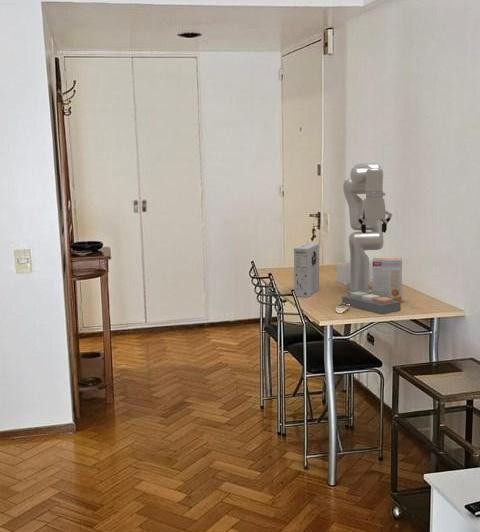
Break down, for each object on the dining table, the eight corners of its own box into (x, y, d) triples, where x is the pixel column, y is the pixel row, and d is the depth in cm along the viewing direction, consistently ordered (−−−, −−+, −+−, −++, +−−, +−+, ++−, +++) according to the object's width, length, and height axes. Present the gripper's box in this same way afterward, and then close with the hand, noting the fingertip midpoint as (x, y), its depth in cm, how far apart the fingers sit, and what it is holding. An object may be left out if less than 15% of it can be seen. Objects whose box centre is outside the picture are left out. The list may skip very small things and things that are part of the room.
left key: (349, 298, 332) (349, 293, 332) (358, 296, 336) (358, 291, 335) (358, 300, 327) (358, 295, 327) (367, 298, 331) (367, 293, 330)
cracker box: (401, 300, 340) (402, 257, 336) (401, 302, 334) (402, 259, 330) (372, 299, 343) (372, 257, 339) (371, 301, 337) (372, 259, 334)
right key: (373, 303, 319) (373, 298, 319) (383, 302, 323) (383, 296, 322) (383, 306, 314) (383, 300, 314) (392, 304, 318) (392, 298, 317)
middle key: (361, 300, 326) (361, 295, 325) (370, 299, 329) (370, 294, 329) (370, 303, 321) (370, 297, 320) (379, 301, 324) (380, 296, 324)
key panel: (342, 304, 333) (342, 296, 332) (360, 301, 339) (360, 293, 339) (381, 314, 311) (381, 305, 311) (400, 310, 318) (400, 301, 318)
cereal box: (305, 288, 373) (305, 242, 369) (319, 289, 370) (319, 242, 366) (294, 296, 353) (293, 247, 349) (308, 297, 350) (308, 248, 346)
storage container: (375, 279, 397) (375, 260, 395) (386, 282, 387) (386, 262, 385) (336, 282, 388) (337, 263, 386) (346, 286, 378) (346, 266, 376)
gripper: (388, 194, 323) (388, 231, 325) (353, 195, 320) (353, 232, 322) (395, 195, 315) (394, 232, 318) (359, 196, 312) (358, 234, 315)
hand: (373, 232), depth 320 cm, fingers open, 9 cm apart
